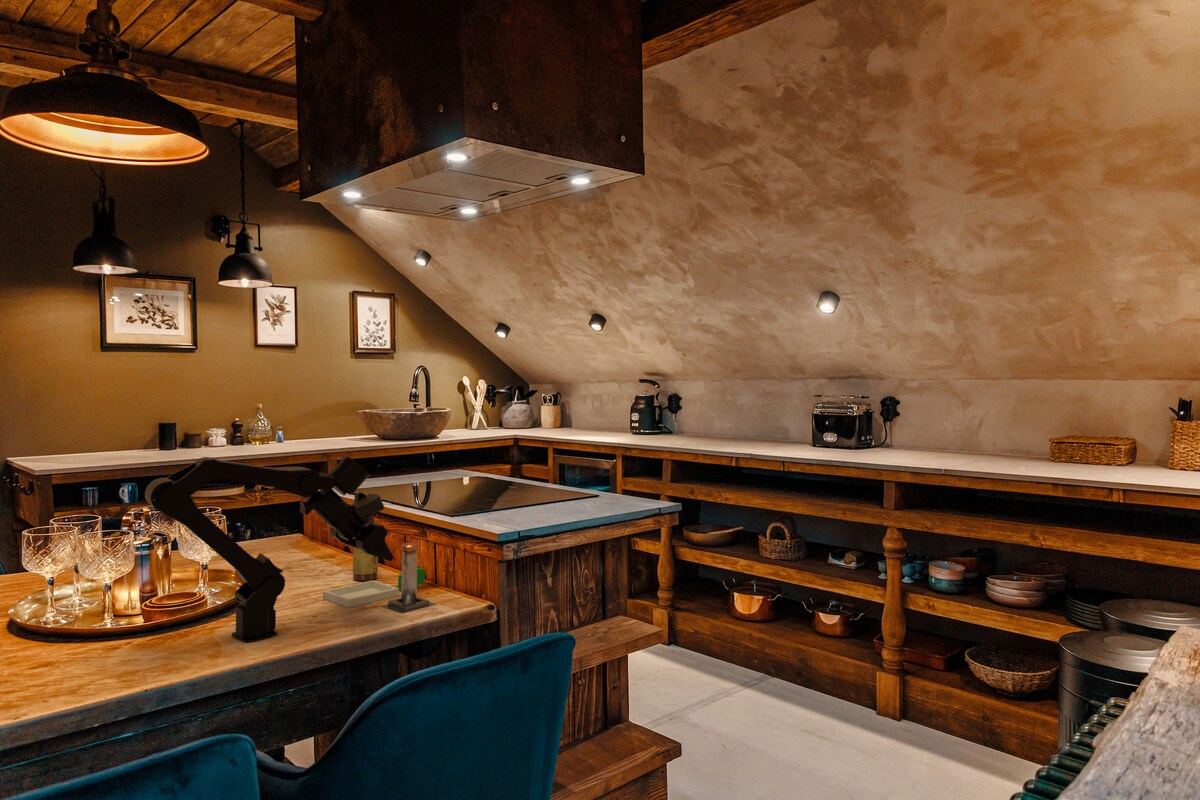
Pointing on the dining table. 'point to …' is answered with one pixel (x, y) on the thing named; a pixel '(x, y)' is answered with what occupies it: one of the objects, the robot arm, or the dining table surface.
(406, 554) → the hitch pin
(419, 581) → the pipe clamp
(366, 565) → the sauce bottle
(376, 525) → the robot arm
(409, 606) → the collar block
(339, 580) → the dining table surface
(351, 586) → the tray
